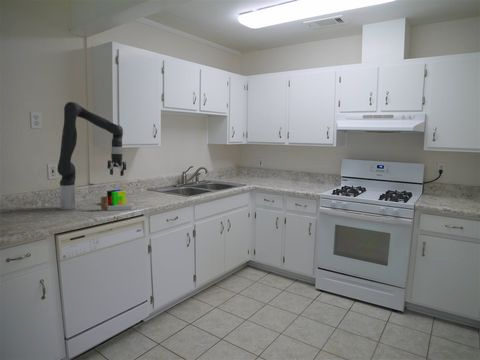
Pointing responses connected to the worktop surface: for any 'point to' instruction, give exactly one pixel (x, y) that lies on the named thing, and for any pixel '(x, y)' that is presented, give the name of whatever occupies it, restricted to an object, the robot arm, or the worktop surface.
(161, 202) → the worktop surface
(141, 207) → the worktop surface
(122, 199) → the puzzle toy
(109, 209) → the slate mat
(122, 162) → the robot arm
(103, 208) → the walnut block
